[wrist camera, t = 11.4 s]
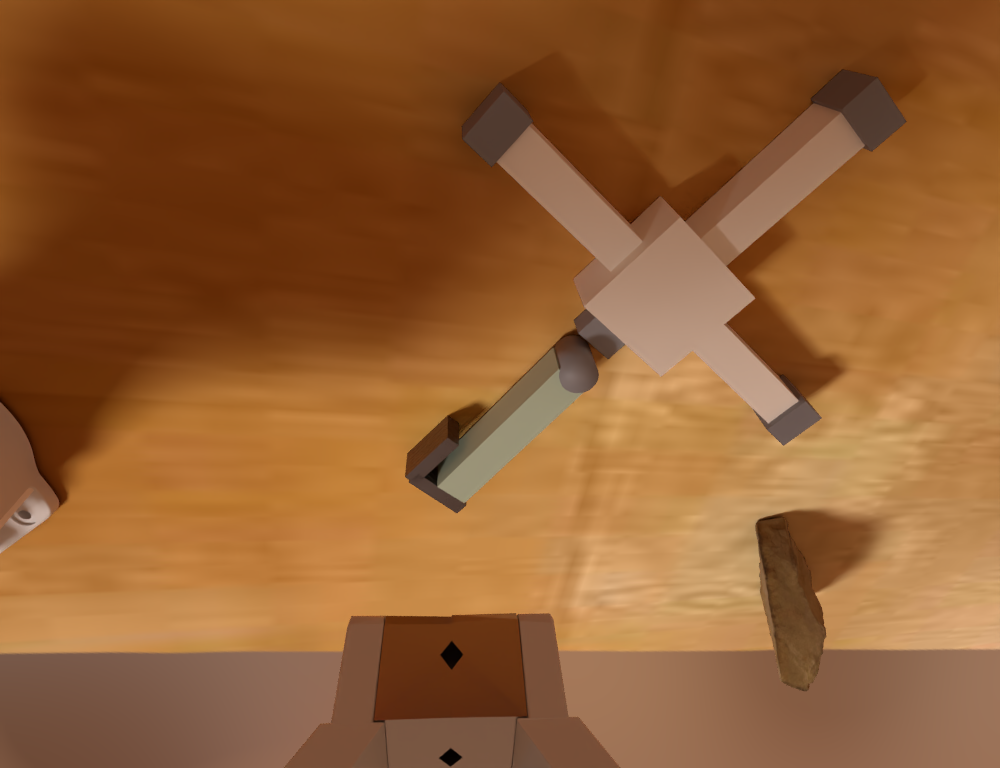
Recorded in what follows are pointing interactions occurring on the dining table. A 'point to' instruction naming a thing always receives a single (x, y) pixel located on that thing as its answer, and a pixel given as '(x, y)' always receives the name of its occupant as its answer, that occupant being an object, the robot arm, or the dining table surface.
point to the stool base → (689, 237)
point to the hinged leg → (519, 417)
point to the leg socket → (434, 462)
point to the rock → (789, 605)
